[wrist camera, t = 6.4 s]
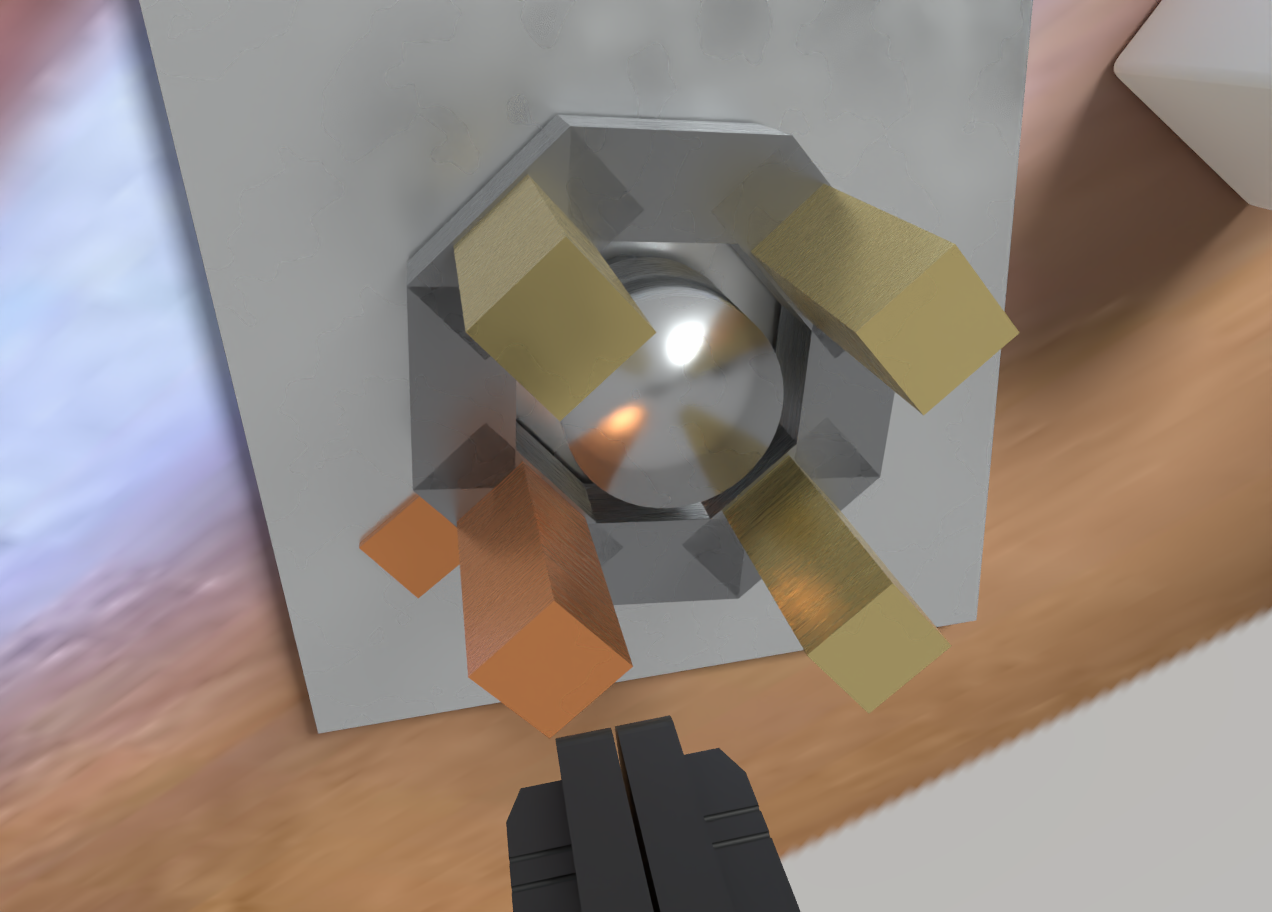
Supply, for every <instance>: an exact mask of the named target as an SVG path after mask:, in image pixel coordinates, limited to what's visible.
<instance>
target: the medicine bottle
mask: <svg viewBox="0 0 1272 912" xmlns="http://www.w3.org/2000/svg"><path fill="white" fill-rule="evenodd" d="M1114 73H1115V74H1116V76H1117V77H1118V78H1119V79H1120V80H1121V81H1122V82H1123V83H1124V84H1125V85H1126V86H1127V87H1128V88H1129V89H1130V90H1131V91H1132V92H1133V93H1134V94H1135V95H1136V96H1138V97H1139V98H1140V99H1141V100H1142V101H1143V102H1144V103H1145V104H1146V105H1147V106H1148V107H1149V108H1150V109H1151V110H1152V111H1153V112H1154V113H1155V114H1156V115H1157V116H1158V117H1159V118H1160V119H1161V120H1162V121H1163V122H1164V123H1165V124H1166V125H1167V126H1168V127H1170V128H1171V129H1172V130H1173V131H1174V132H1175V133H1176V134H1177V135H1178V136H1179V137H1180V138H1181V139H1182V140H1183V141H1184V142H1185V143H1186V144H1187V145H1188V146H1189V147H1190V148H1191V149H1192V150H1193V151H1194V152H1195V153H1196V154H1197V155H1198V156H1199V157H1200V158H1202V159H1203V160H1204V161H1205V162H1206V163H1207V164H1208V165H1209V166H1210V167H1211V168H1212V169H1213V170H1214V171H1215V172H1216V173H1217V174H1218V175H1219V176H1220V177H1221V178H1222V179H1223V180H1224V181H1225V182H1226V183H1227V184H1228V185H1229V186H1230V187H1231V188H1232V189H1234V190H1235V191H1236V192H1237V193H1238V194H1239V195H1240V196H1241V197H1242V198H1243V199H1244V200H1245V201H1246V202H1247V203H1249V204H1251V205H1253V206H1257V207H1260V208H1264V209H1268V210H1272V0H1162V1H1161V2H1160V4H1159V5H1158V6H1157V7H1156V9H1155V10H1154V11H1153V13H1152V14H1151V15H1150V17H1149V18H1148V19H1147V20H1146V22H1145V23H1144V24H1143V26H1142V27H1141V28H1140V30H1139V31H1138V32H1137V33H1136V35H1135V36H1134V37H1133V39H1132V40H1131V41H1130V43H1129V44H1128V45H1127V46H1126V48H1125V49H1124V50H1123V52H1122V53H1121V54H1120V56H1119V57H1118V58H1117V60H1116V62H1115V64H1114Z"/></svg>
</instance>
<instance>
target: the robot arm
mask: <svg viewBox="0 0 1272 912" xmlns="http://www.w3.org/2000/svg"><path fill="white" fill-rule="evenodd" d="M615 732H616V740H617V747H618V754H619V760H618V755H617V751H616V747H615V742H614V738H613V734H612V730H611V728H606V729H601V730H596V731H591V732H586V733H581V734H576V735H571V736H566V737H561V738H556V746H557V752H558V759H559V765H560V772H561V779H562V780H560V781H555V782H550V783H545V784H540V785H536V786H531V787H526V788H521V789H520V791H519V794H518V796H517V798H516V801H515V803H514V805H513V808H512V810H511V813H510V815H509V817H508V820H507V822H506V825H507V838H508V851H509V860H510V877H511V888H512V903H513V912H800V910H799V907H798V904H797V901H796V899H795V896H794V894H793V892H792V889H791V886H790V884H789V881H788V879H787V876H786V874H785V871H784V869H783V866H782V863H781V861H780V858H779V856H778V853H777V851H776V848H775V846H774V843H773V841H772V838H770V835H769V830H768V828H767V825H766V823H765V820H764V818H763V815H762V813H761V811H760V810H759V806H758V802H757V800H756V797H755V795H754V792H753V790H752V787H751V785H750V782H749V780H748V777H747V774H746V772H745V771H744V770H742V769H741V768H740V767H739V766H738V765H737V764H736V763H735V762H734V761H733V760H731V759H730V758H729V757H728V756H727V755H726V754H725V753H724V752H723V751H722V750H721V749H719V748H716V749H711V750H706V751H701V752H696V753H691V754H686V755H684V754H683V751H682V748H681V745H680V742H679V739H678V736H677V732H676V729H675V726H674V723H673V720H672V718H671V716H665V717H660V718H655V719H650V720H645V721H640V722H635V723H630V724H625V725H620V726H615ZM619 761H620V764H619Z"/></svg>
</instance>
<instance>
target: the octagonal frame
mask: <svg viewBox="0 0 1272 912" xmlns="http://www.w3.org/2000/svg"><path fill="white" fill-rule="evenodd" d="M611 241H620V242H672V243H724V244H730V245H731V247H732V248H733V249H734V250H735V251H736V252H737V254H738V255H739V256H740V257H741V258H742V260H743V261H744V262H745V263H746V264H747V265H748V267H749V268H750V269H751V270H752V271H753V272H754V274H755V275H756V276H757V277H758V278H759V279H760V281H761V282H762V283H763V284H764V285H765V286H766V288H767V289H768V290H769V291H770V292H771V294H772V295H773V296H774V297H775V298H776V299H777V301H778V302H779V303H780V304H781V310H780V319H779V327H778V336H777V344H776V352H775V354H776V356H777V359H778V362H779V365H780V369H781V373H782V378H783V391H784V394H783V407H782V412H781V417H780V421H779V424H778V427H777V430H776V433H775V435H774V437H773V439H772V441H771V443H770V445H769V447H768V449H767V450H766V452H765V453H764V455H763V456H762V458H761V459H760V460H759V461H758V463H757V464H756V465H755V466H754V468H753V469H752V470H751V471H750V472H749V473H748V474H747V475H745V476H744V477H743V478H742V479H741V480H740V481H738V482H737V483H736V484H734V485H733V486H732V487H730V488H729V489H727V490H725V491H724V492H722V493H720V494H718V495H716V496H714V497H712V498H710V499H708V500H705V501H702V502H699V503H696V504H692V505H687V506H683V507H675V508H650V507H644V506H638V505H635V504H631V503H628V502H625V501H623V500H620V499H618V498H616V497H613V496H612V495H610V494H609V493H607V492H605V491H604V490H602V489H601V488H600V487H598V486H597V485H596V484H583V483H582V482H581V481H580V480H579V479H578V478H577V477H576V476H575V475H574V474H572V473H571V472H570V471H569V470H568V469H567V468H566V467H565V466H564V465H563V464H562V463H561V462H559V461H558V460H557V459H556V458H555V457H554V456H553V455H552V454H551V453H550V452H549V451H548V450H546V449H545V448H544V447H543V446H542V445H541V444H540V443H539V442H538V441H537V440H536V439H535V438H533V437H532V436H531V435H530V434H529V433H528V432H527V431H526V430H525V429H524V428H523V427H521V426H520V425H519V424H518V423H517V422H516V380H517V381H518V382H519V383H520V384H521V385H522V386H523V387H524V388H525V389H526V390H527V391H528V392H529V393H530V394H531V395H533V396H534V397H535V398H536V399H537V400H538V401H539V402H540V403H541V404H542V405H543V406H544V407H545V408H546V409H547V410H548V411H549V412H550V413H552V414H553V415H554V416H555V417H556V418H557V419H558V420H559V421H561V420H562V419H563V418H564V417H565V416H566V415H568V414H569V413H570V412H571V411H572V410H573V409H574V408H575V407H576V406H577V405H578V404H579V403H581V402H582V401H583V400H584V399H585V398H586V397H587V396H588V395H589V394H590V393H591V392H592V391H594V390H595V389H596V388H597V387H598V386H599V385H600V384H601V383H602V382H603V381H604V380H606V379H607V378H608V377H609V376H610V375H611V374H612V373H613V372H614V371H615V370H616V369H617V368H619V367H620V366H621V365H622V364H623V363H624V362H625V361H626V360H627V359H628V358H629V357H630V356H632V355H633V354H634V353H635V352H636V351H637V350H638V349H639V348H640V347H641V346H642V345H643V344H645V343H646V342H647V341H648V340H649V339H650V338H651V337H652V336H653V335H654V334H655V333H656V331H655V330H654V328H653V327H652V325H651V324H650V323H649V321H648V320H647V318H646V317H645V315H644V314H643V313H642V311H641V310H640V308H639V307H638V306H637V304H636V303H635V301H634V300H633V299H632V297H631V296H630V294H629V293H628V292H627V290H626V289H625V287H624V286H623V285H622V283H621V282H620V280H619V279H618V277H617V276H616V275H615V273H614V272H613V270H612V269H611V268H610V266H609V265H608V263H607V262H606V261H605V259H604V258H603V256H602V255H601V254H600V252H601V251H602V250H603V249H604V248H605V247H606V246H607V245H608V244H609V243H610V242H611ZM406 286H407V316H408V349H409V382H410V415H411V448H412V480H413V491H414V492H415V493H416V494H418V495H419V496H420V497H421V498H422V499H424V500H425V501H426V502H427V503H428V504H430V505H431V506H432V507H433V508H434V509H436V510H437V511H438V512H439V513H441V514H442V515H443V516H444V517H445V518H447V519H448V520H449V521H450V522H451V523H453V524H454V525H455V526H456V527H457V534H458V547H459V561H460V575H461V588H462V602H463V615H464V629H465V642H466V656H467V670H468V678H470V679H471V680H472V681H474V682H475V683H476V684H478V685H479V686H480V687H482V688H483V689H484V690H486V691H487V692H488V693H490V694H491V695H492V696H494V697H495V698H496V699H498V700H499V701H500V702H502V703H503V704H504V705H506V706H507V707H508V708H510V709H511V710H512V711H514V712H515V713H516V714H518V715H519V716H520V717H522V718H523V719H524V720H526V721H527V722H528V723H530V724H531V725H532V726H534V727H535V728H536V729H538V730H539V731H540V732H542V733H543V734H544V735H546V736H547V737H548V738H551V737H552V736H553V735H554V734H556V733H557V732H558V731H559V730H560V729H561V728H563V727H564V726H565V725H566V724H567V723H568V722H570V721H571V720H572V719H573V718H574V717H575V716H576V715H578V714H579V713H580V712H581V711H582V710H583V709H585V708H586V707H587V706H588V705H589V704H590V703H592V702H593V701H594V700H595V699H596V698H597V697H598V696H600V695H601V694H602V693H603V692H604V691H605V690H607V689H608V688H609V687H610V686H611V685H612V684H614V683H615V682H616V681H617V680H618V679H619V678H620V677H622V676H623V675H624V674H625V673H626V672H627V671H629V670H630V669H631V668H632V667H633V665H632V661H631V658H630V655H629V652H628V649H627V646H626V643H625V640H624V637H623V633H622V630H621V627H620V624H619V621H618V618H617V615H616V612H615V609H614V605H626V604H645V603H664V602H683V601H702V600H721V599H739V598H740V597H741V596H742V595H744V594H745V593H746V592H747V591H748V590H749V589H751V588H752V587H753V586H754V585H755V584H756V583H758V582H759V581H760V580H761V579H762V580H763V581H764V583H765V585H766V587H767V588H768V590H769V592H770V593H771V595H772V597H773V598H774V600H775V602H776V603H777V605H778V607H779V609H780V610H781V612H782V614H783V615H784V617H785V619H786V620H787V622H788V624H789V625H790V627H791V629H792V631H793V632H794V634H795V636H796V637H797V639H798V641H799V642H800V644H801V646H802V647H803V649H804V651H805V653H806V654H807V656H808V657H809V658H811V659H812V660H813V661H814V662H815V663H816V664H817V665H818V666H819V667H820V668H821V669H822V670H823V671H824V672H825V673H826V674H827V675H828V676H830V677H831V678H832V679H833V680H834V681H835V682H836V683H837V684H838V685H839V686H840V687H841V688H842V689H843V690H844V691H845V692H846V693H848V694H849V695H850V696H851V697H852V698H853V699H854V700H855V701H856V702H857V703H858V704H859V705H860V706H861V707H862V708H863V709H864V710H865V711H867V712H868V713H870V712H872V711H873V710H874V709H875V708H876V707H878V706H879V705H880V704H881V703H883V702H884V701H885V700H886V699H887V698H889V697H890V696H891V695H892V694H894V693H895V692H896V691H897V690H898V689H900V688H901V687H902V686H903V685H905V684H906V683H907V682H908V681H909V680H911V679H912V678H913V677H914V676H915V675H917V674H918V673H919V672H920V671H922V670H923V669H924V668H925V667H926V666H928V665H929V664H930V663H931V662H933V661H934V660H935V659H936V658H937V657H939V656H940V655H941V654H942V653H944V652H945V651H946V650H947V649H948V648H950V647H951V644H950V643H949V642H948V641H947V640H946V638H945V637H944V636H943V635H942V633H941V632H940V631H939V630H938V629H937V627H936V626H935V625H934V624H933V623H932V621H931V620H930V619H929V618H928V616H927V615H926V614H925V613H924V612H923V610H922V609H921V608H920V607H919V605H918V604H917V603H916V602H915V601H914V599H913V598H912V597H911V596H910V595H909V593H908V592H907V591H906V590H905V588H904V587H903V586H902V585H901V584H900V582H899V581H898V580H897V579H896V578H895V576H894V575H893V574H892V573H891V571H890V570H889V569H888V568H887V567H886V565H885V564H884V563H883V562H882V560H881V559H880V558H879V557H878V556H877V554H876V553H875V552H874V551H873V550H872V548H871V547H870V546H869V545H868V543H867V542H866V541H865V540H864V539H863V537H862V536H861V535H860V534H859V533H858V531H857V530H856V529H855V528H854V526H853V525H852V524H851V523H850V522H849V520H848V519H847V518H846V517H845V515H844V514H843V513H842V512H841V510H842V509H844V508H845V507H846V506H847V505H848V504H849V503H851V502H852V501H853V500H854V499H855V498H856V497H858V496H859V495H860V494H861V493H862V492H863V491H865V490H866V489H867V488H868V487H869V486H870V485H872V484H873V483H874V482H875V481H876V480H877V479H879V478H880V476H881V470H882V464H883V458H884V452H885V447H886V441H887V435H888V429H889V423H890V417H891V411H892V405H893V400H894V394H895V392H896V393H897V394H898V395H900V396H901V397H902V398H903V399H904V400H906V401H907V402H908V403H909V404H910V405H912V406H913V407H914V408H915V409H916V410H918V411H919V412H920V413H921V414H922V415H925V414H926V413H927V412H929V411H930V410H931V409H932V408H933V407H934V406H935V405H937V404H938V403H939V402H940V401H941V400H942V399H944V398H945V397H946V396H947V395H948V394H949V393H951V392H952V391H953V390H954V389H955V388H956V387H957V386H959V385H960V384H961V383H962V382H963V381H964V380H966V379H967V378H968V377H969V376H970V375H971V374H973V373H974V372H975V371H976V370H977V369H978V368H979V367H981V366H982V365H983V364H984V363H985V362H986V361H988V360H989V359H990V358H991V357H992V356H993V355H995V354H996V353H997V352H998V351H999V350H1000V349H1001V348H1003V347H1004V346H1005V345H1006V344H1007V343H1008V342H1010V341H1011V340H1012V339H1013V338H1014V337H1015V336H1017V335H1018V334H1019V331H1018V330H1017V329H1016V327H1015V326H1014V324H1013V323H1012V322H1011V320H1010V319H1009V318H1008V316H1007V315H1006V313H1005V312H1004V311H1003V309H1002V308H1001V306H1000V305H999V304H998V302H997V301H996V300H995V298H994V297H993V295H992V294H991V293H990V291H989V290H988V288H987V287H986V286H985V284H984V283H983V282H982V280H981V279H980V277H979V276H978V275H977V273H976V272H975V270H974V269H973V268H972V266H971V265H970V264H969V262H968V261H967V259H966V258H965V257H964V255H963V254H962V252H961V251H960V250H959V248H958V247H957V246H956V244H954V243H952V242H950V241H948V240H946V239H943V238H941V237H939V236H937V235H935V234H933V233H930V232H928V231H926V230H924V229H922V228H919V227H917V226H915V225H913V224H911V223H909V222H906V221H904V220H902V219H900V218H898V217H896V216H893V215H891V214H889V213H887V212H885V211H883V210H880V209H878V208H876V207H874V206H872V205H870V204H867V203H865V202H863V201H861V200H859V199H856V198H854V197H852V196H850V195H848V194H846V193H843V192H841V191H839V190H837V189H835V188H833V187H832V186H831V185H830V184H829V182H828V181H827V180H826V178H825V177H824V176H823V175H822V173H821V172H820V171H819V169H818V168H817V167H816V165H815V164H814V163H813V162H812V160H811V159H810V158H809V156H808V155H807V154H806V152H805V151H804V150H803V149H802V147H801V146H800V145H799V143H798V142H797V141H796V139H795V138H794V137H793V135H790V134H788V133H785V132H782V131H779V130H777V129H774V128H771V127H769V126H766V125H763V124H757V123H734V122H711V121H688V120H665V119H642V118H619V117H596V116H573V115H556V116H555V117H554V118H553V119H552V120H551V121H550V122H549V123H548V124H547V125H546V126H545V127H544V128H543V129H542V130H541V131H540V132H539V133H538V134H537V135H536V136H535V137H534V138H533V139H532V140H531V141H530V142H529V143H528V144H527V145H526V146H525V147H524V148H523V149H522V150H521V151H520V152H518V153H517V154H516V155H515V156H514V157H513V158H512V159H511V160H510V161H509V162H508V163H507V164H506V165H505V166H504V167H503V168H502V169H501V170H500V171H499V172H498V173H497V174H496V175H495V176H494V177H493V178H492V179H491V180H490V181H489V182H488V183H487V184H486V185H485V186H484V187H483V188H482V189H481V190H480V191H479V192H478V193H477V194H476V195H475V196H474V197H473V198H472V199H471V200H470V201H469V202H468V203H467V204H465V205H464V206H463V207H462V208H461V209H460V210H459V211H458V212H457V213H456V214H455V215H454V216H453V217H452V218H451V219H450V220H449V221H448V222H447V223H446V224H445V225H444V226H443V227H442V228H441V229H440V230H439V231H438V232H437V233H436V234H435V235H434V236H433V237H432V238H431V239H430V240H429V241H428V242H427V243H426V244H425V245H424V246H423V247H422V248H421V249H420V250H419V251H418V252H417V253H416V254H415V255H414V256H413V257H411V258H410V259H409V260H408V261H407V285H406Z"/></svg>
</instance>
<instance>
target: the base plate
mask: <svg viewBox="0 0 1272 912" xmlns="http://www.w3.org/2000/svg"><path fill="white" fill-rule="evenodd" d="M139 2H140V6H141V10H142V14H143V18H144V23H145V27H146V31H147V35H148V39H149V43H150V47H151V51H152V55H153V59H154V63H155V68H156V72H157V76H158V80H159V84H160V88H161V92H162V96H163V100H164V104H165V108H166V113H167V117H168V121H169V125H170V129H171V133H172V137H173V141H174V145H175V149H176V153H177V158H178V162H179V166H180V170H181V174H182V178H183V182H184V186H185V190H186V194H187V198H188V203H189V207H190V211H191V215H192V219H193V223H194V227H195V231H196V235H197V239H198V243H199V248H200V252H201V256H202V260H203V264H204V268H205V272H206V276H207V280H208V284H209V288H210V293H211V297H212V301H213V305H214V309H215V313H216V317H217V321H218V325H219V329H220V333H221V338H222V342H223V346H224V350H225V354H226V358H227V362H228V366H229V370H230V374H231V378H232V383H233V387H234V391H235V395H236V399H237V403H238V407H239V411H240V415H241V419H242V423H243V428H244V432H245V436H246V440H247V444H248V448H249V452H250V456H251V460H252V464H253V468H254V473H255V477H256V481H257V485H258V489H259V493H260V497H261V501H262V505H263V509H264V513H265V518H266V522H267V526H268V530H269V534H270V538H271V542H272V546H273V550H274V554H275V558H276V563H277V567H278V571H279V575H280V579H281V583H282V587H283V591H284V595H285V599H286V603H287V608H288V612H289V616H290V620H291V624H292V628H293V632H294V636H295V640H296V644H297V648H298V653H299V657H300V661H301V665H302V669H303V673H304V677H305V681H306V685H307V689H308V693H309V698H310V702H311V706H312V710H313V714H314V718H315V722H316V726H317V730H318V734H319V733H324V732H330V731H336V730H342V729H348V728H353V727H359V726H365V725H371V724H377V723H382V722H388V721H394V720H400V719H406V718H411V717H417V716H423V715H429V714H435V713H441V712H446V711H452V710H458V709H464V708H470V707H475V706H481V705H487V704H493V703H499V702H500V701H499V700H498V699H496V698H495V697H494V696H492V695H491V694H490V693H488V692H487V691H486V690H484V689H483V688H482V687H480V686H479V685H478V684H476V683H475V682H474V681H472V680H471V679H470V678H468V670H467V656H466V642H465V629H464V615H463V602H462V588H461V575H460V561H459V547H458V534H457V527H456V526H455V525H454V524H453V523H451V522H450V521H449V520H448V519H447V518H445V517H444V516H443V515H442V514H441V513H439V512H438V511H437V510H436V509H434V508H433V507H432V506H431V505H430V504H428V503H427V502H426V501H425V500H424V499H422V498H421V497H420V496H419V495H418V494H416V493H415V492H414V491H413V480H412V448H411V415H410V382H409V349H408V316H407V286H406V285H407V261H408V260H409V259H410V258H411V257H413V256H414V255H415V254H416V253H417V252H418V251H419V250H420V249H421V248H422V247H423V246H424V245H425V244H426V243H427V242H428V241H429V240H430V239H431V238H432V237H433V236H434V235H435V234H436V233H437V232H438V231H439V230H440V229H441V228H442V227H443V226H444V225H445V224H446V223H447V222H448V221H449V220H450V219H451V218H452V217H453V216H454V215H455V214H456V213H457V212H458V211H459V210H460V209H461V208H462V207H463V206H464V205H465V204H467V203H468V202H469V201H470V200H471V199H472V198H473V197H474V196H475V195H476V194H477V193H478V192H479V191H480V190H481V189H482V188H483V187H484V186H485V185H486V184H487V183H488V182H489V181H490V180H491V179H492V178H493V177H494V176H495V175H496V174H497V173H498V172H499V171H500V170H501V169H502V168H503V167H504V166H505V165H506V164H507V163H508V162H509V161H510V160H511V159H512V158H513V157H514V156H515V155H516V154H517V153H518V152H520V151H521V150H522V149H523V148H524V147H525V146H526V145H527V144H528V143H529V142H530V141H531V140H532V139H533V138H534V137H535V136H536V135H537V134H538V133H539V132H540V131H541V130H542V129H543V128H544V127H545V126H546V125H547V124H548V123H549V122H550V121H551V120H552V119H553V118H554V117H555V116H556V115H573V116H596V117H619V118H642V119H665V120H688V121H711V122H734V123H757V124H763V125H766V126H769V127H771V128H774V129H777V130H779V131H782V132H785V133H788V134H790V135H793V137H794V138H795V139H796V141H797V142H798V143H799V145H800V146H801V147H802V149H803V150H804V151H805V152H806V154H807V155H808V156H809V158H810V159H811V160H812V162H813V163H814V164H815V165H816V167H817V168H818V169H819V171H820V172H821V173H822V175H823V176H824V177H825V178H826V180H827V181H828V182H829V184H830V185H831V186H832V187H833V188H835V189H837V190H839V191H841V192H843V193H846V194H848V195H850V196H852V197H854V198H856V199H859V200H861V201H863V202H865V203H867V204H870V205H872V206H874V207H876V208H878V209H880V210H883V211H885V212H887V213H889V214H891V215H893V216H896V217H898V218H900V219H902V220H904V221H906V222H909V223H911V224H913V225H915V226H917V227H919V228H922V229H924V230H926V231H928V232H930V233H933V234H935V235H937V236H939V237H941V238H943V239H946V240H948V241H950V242H952V243H954V244H956V246H957V247H958V248H959V250H960V251H961V252H962V254H963V255H964V257H965V258H966V259H967V261H968V262H969V264H970V265H971V266H972V268H973V269H974V270H975V272H976V273H977V275H978V276H979V277H980V279H981V280H982V282H983V283H984V284H985V286H986V287H987V288H988V290H989V291H990V293H991V294H992V295H993V297H994V298H995V300H996V301H997V302H998V304H999V305H1000V306H1001V308H1002V309H1003V311H1005V300H1006V289H1007V278H1008V267H1009V256H1010V245H1011V234H1012V224H1013V213H1014V202H1015V191H1016V180H1017V169H1018V158H1019V147H1020V136H1021V125H1022V114H1023V103H1024V92H1025V81H1026V71H1027V60H1028V49H1029V38H1030V27H1031V16H1032V5H1033V0H139ZM600 254H601V255H602V256H603V258H604V259H605V261H606V262H607V263H608V265H609V266H610V268H611V269H612V270H613V272H614V273H615V275H616V276H617V277H618V279H619V280H620V282H621V283H622V285H623V286H624V287H625V289H626V290H627V292H628V293H629V294H630V296H631V297H632V299H633V300H634V301H635V303H636V304H637V306H638V307H639V308H640V310H641V311H642V313H643V314H644V315H645V317H646V318H647V320H648V321H649V323H650V324H651V325H652V327H653V328H654V330H655V331H656V333H655V334H654V335H653V336H652V337H651V338H650V339H649V340H648V341H647V342H646V343H645V344H643V345H642V346H641V347H640V348H639V349H638V350H637V351H636V352H635V353H634V354H633V355H632V356H630V357H629V358H628V359H627V360H626V361H625V362H624V363H623V364H622V365H621V366H620V367H619V368H617V369H616V370H615V371H614V372H613V373H612V374H611V375H610V376H609V377H608V378H607V379H606V380H604V381H603V382H602V383H601V384H600V385H599V386H598V387H597V388H596V389H595V390H594V391H592V392H591V393H590V394H589V395H588V396H587V397H586V398H585V399H584V400H583V401H582V402H581V403H579V404H578V405H577V406H576V407H575V408H574V409H573V410H572V411H571V412H570V413H569V414H568V415H566V416H565V417H564V418H563V419H562V420H561V421H559V420H558V419H557V418H556V417H555V416H554V415H553V414H552V413H550V412H549V411H548V410H547V409H546V408H545V407H544V406H543V405H542V404H541V403H540V402H539V401H538V400H537V399H536V398H535V397H534V396H533V395H531V394H530V393H529V392H528V391H527V390H526V389H525V388H524V387H523V386H522V385H521V384H520V383H519V382H518V381H517V380H516V422H517V423H518V424H519V425H520V426H521V427H523V428H524V429H525V430H526V431H527V432H528V433H529V434H530V435H531V436H532V437H533V438H535V439H536V440H537V441H538V442H539V443H540V444H541V445H542V446H543V447H544V448H545V449H546V450H548V451H549V452H550V453H551V454H552V455H553V456H554V457H555V458H556V459H557V460H558V461H559V462H561V463H562V464H563V465H564V466H565V467H566V468H567V469H568V470H569V471H570V472H571V473H572V474H574V475H575V476H576V477H577V478H578V479H579V480H580V481H581V482H582V483H583V484H596V485H597V486H598V487H600V488H601V489H602V490H604V491H605V492H607V493H609V494H610V495H612V496H613V497H616V498H618V499H620V500H623V501H625V502H628V503H631V504H635V505H638V506H644V507H650V508H675V507H683V506H687V505H692V504H696V503H699V502H702V501H705V500H708V499H710V498H712V497H714V496H716V495H718V494H720V493H722V492H724V491H725V490H727V489H729V488H730V487H732V486H733V485H734V484H736V483H737V482H738V481H740V480H741V479H742V478H743V477H744V476H745V475H747V474H748V473H749V472H750V471H751V470H752V469H753V468H754V466H755V465H756V464H757V463H758V461H759V460H760V459H761V458H762V456H763V455H764V453H765V452H766V450H767V449H768V447H769V445H770V443H771V441H772V439H773V437H774V435H775V433H776V430H777V427H778V424H779V421H780V417H781V412H782V407H783V394H784V391H783V378H782V373H781V369H780V365H779V362H778V359H777V356H776V354H775V352H776V344H777V336H778V327H779V319H780V310H781V304H780V303H779V302H778V301H777V299H776V298H775V297H774V296H773V295H772V294H771V292H770V291H769V290H768V289H767V288H766V286H765V285H764V284H763V283H762V282H761V281H760V279H759V278H758V277H757V276H756V275H755V274H754V272H753V271H752V270H751V269H750V268H749V267H748V265H747V264H746V263H745V262H744V261H743V260H742V258H741V257H740V256H739V255H738V254H737V252H736V251H735V250H734V249H733V248H732V247H731V245H730V244H724V243H672V242H620V241H611V242H610V243H609V244H608V245H607V246H606V247H605V248H604V249H603V250H602V251H601V252H600ZM1000 355H1001V349H1000V350H999V351H998V352H997V353H996V354H995V355H993V356H992V357H991V358H990V359H989V360H988V361H986V362H985V363H984V364H983V365H982V366H981V367H979V368H978V369H977V370H976V371H975V372H974V373H973V374H971V375H970V376H969V377H968V378H967V379H966V380H964V381H963V382H962V383H961V384H960V385H959V386H957V387H956V388H955V389H954V390H953V391H952V392H951V393H949V394H948V395H947V396H946V397H945V398H944V399H942V400H941V401H940V402H939V403H938V404H937V405H935V406H934V407H933V408H932V409H931V410H930V411H929V412H927V413H926V414H925V415H922V414H921V413H920V412H919V411H918V410H916V409H915V408H914V407H913V406H912V405H910V404H909V403H908V402H907V401H906V400H904V399H903V398H902V397H901V396H900V395H898V394H897V393H896V392H895V394H894V400H893V405H892V411H891V417H890V423H889V429H888V435H887V441H886V447H885V452H884V458H883V464H882V470H881V476H880V478H879V479H877V480H876V481H875V482H874V483H873V484H872V485H870V486H869V487H868V488H867V489H866V490H865V491H863V492H862V493H861V494H860V495H859V496H858V497H856V498H855V499H854V500H853V501H852V502H851V503H849V504H848V505H847V506H846V507H845V508H844V509H842V510H841V512H842V513H843V514H844V515H845V517H846V518H847V519H848V520H849V522H850V523H851V524H852V525H853V526H854V528H855V529H856V530H857V531H858V533H859V534H860V535H861V536H862V537H863V539H864V540H865V541H866V542H867V543H868V545H869V546H870V547H871V548H872V550H873V551H874V552H875V553H876V554H877V556H878V557H879V558H880V559H881V560H882V562H883V563H884V564H885V565H886V567H887V568H888V569H889V570H890V571H891V573H892V574H893V575H894V576H895V578H896V579H897V580H898V581H899V582H900V584H901V585H902V586H903V587H904V588H905V590H906V591H907V592H908V593H909V595H910V596H911V597H912V598H913V599H914V601H915V602H916V603H917V604H918V605H919V607H920V608H921V609H922V610H923V612H924V613H925V614H926V615H927V616H928V618H929V619H930V620H931V621H932V623H933V624H934V625H935V626H936V627H940V626H946V625H951V624H957V623H963V622H969V621H975V620H976V617H977V606H978V595H979V584H980V573H981V562H982V551H983V540H984V530H985V519H986V508H987V497H988V486H989V475H990V464H991V453H992V442H993V431H994V420H995V409H996V398H997V387H998V377H999V366H1000ZM614 609H615V612H616V615H617V618H618V621H619V624H620V627H621V630H622V633H623V637H624V640H625V643H626V646H627V649H628V652H629V655H630V658H631V661H632V665H633V667H632V668H631V669H630V670H629V671H627V672H626V673H625V674H624V675H623V676H622V677H620V678H619V679H618V680H617V681H616V682H620V681H626V680H632V679H638V678H644V677H650V676H655V675H661V674H667V673H673V672H679V671H684V670H690V669H696V668H702V667H708V666H713V665H719V664H725V663H731V662H737V661H742V660H748V659H754V658H760V657H766V656H771V655H777V654H783V653H789V652H795V651H800V650H804V649H803V647H802V646H801V644H800V642H799V641H798V639H797V637H796V636H795V634H794V632H793V631H792V629H791V627H790V625H789V624H788V622H787V620H786V619H785V617H784V615H783V614H782V612H781V610H780V609H779V607H778V605H777V603H776V602H775V600H774V598H773V597H772V595H771V593H770V592H769V590H768V588H767V587H766V585H765V583H764V581H763V580H762V579H761V580H760V581H759V582H758V583H756V584H755V585H754V586H753V587H752V588H751V589H749V590H748V591H747V592H746V593H745V594H744V595H742V596H741V597H740V598H739V599H721V600H702V601H683V602H664V603H645V604H626V605H614Z"/></svg>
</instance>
